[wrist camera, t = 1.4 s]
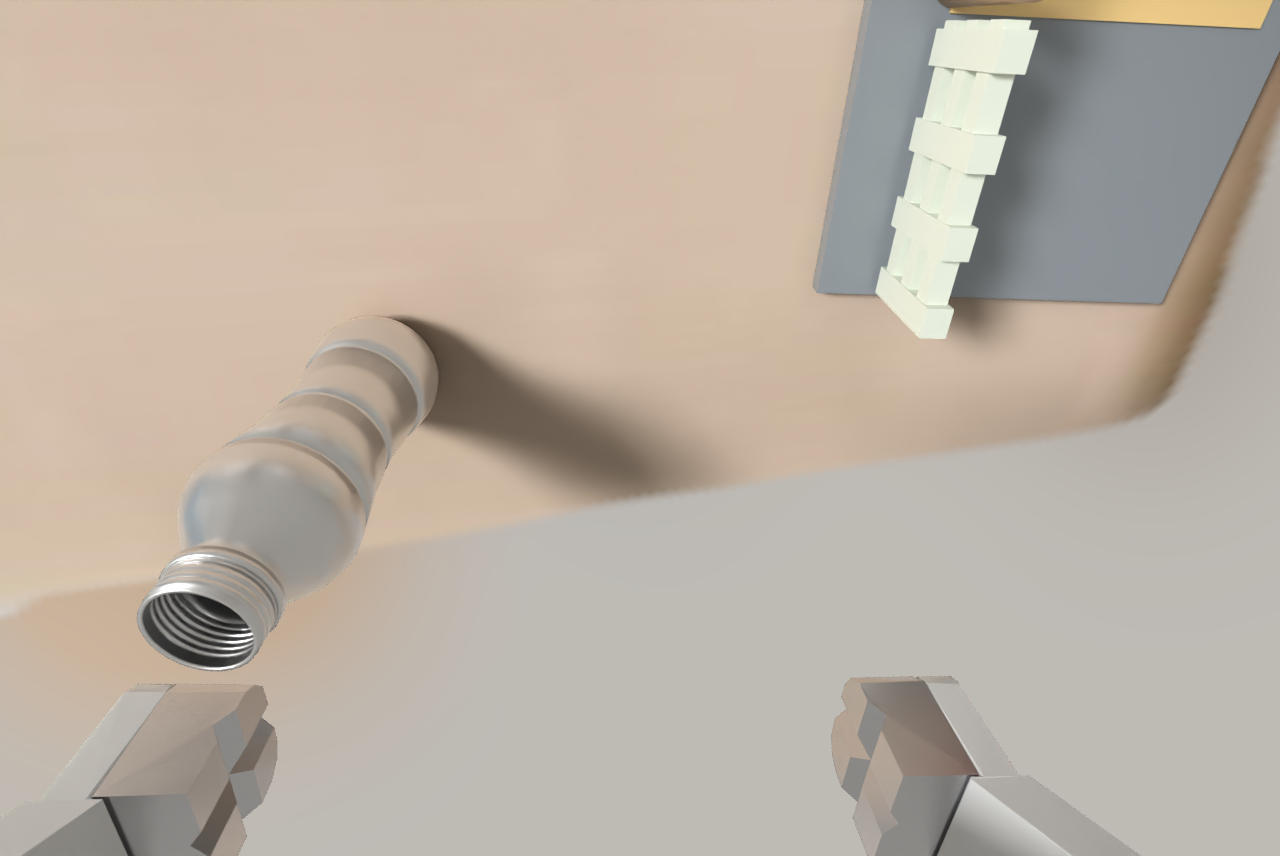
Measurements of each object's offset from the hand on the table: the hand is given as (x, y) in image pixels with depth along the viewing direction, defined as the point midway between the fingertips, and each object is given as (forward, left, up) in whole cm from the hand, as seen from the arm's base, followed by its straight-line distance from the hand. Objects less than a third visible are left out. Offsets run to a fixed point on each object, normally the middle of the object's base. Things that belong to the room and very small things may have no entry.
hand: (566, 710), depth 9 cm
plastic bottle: (+8, -12, -29) cm, 32 cm away
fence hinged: (-3, +15, -27) cm, 31 cm away
